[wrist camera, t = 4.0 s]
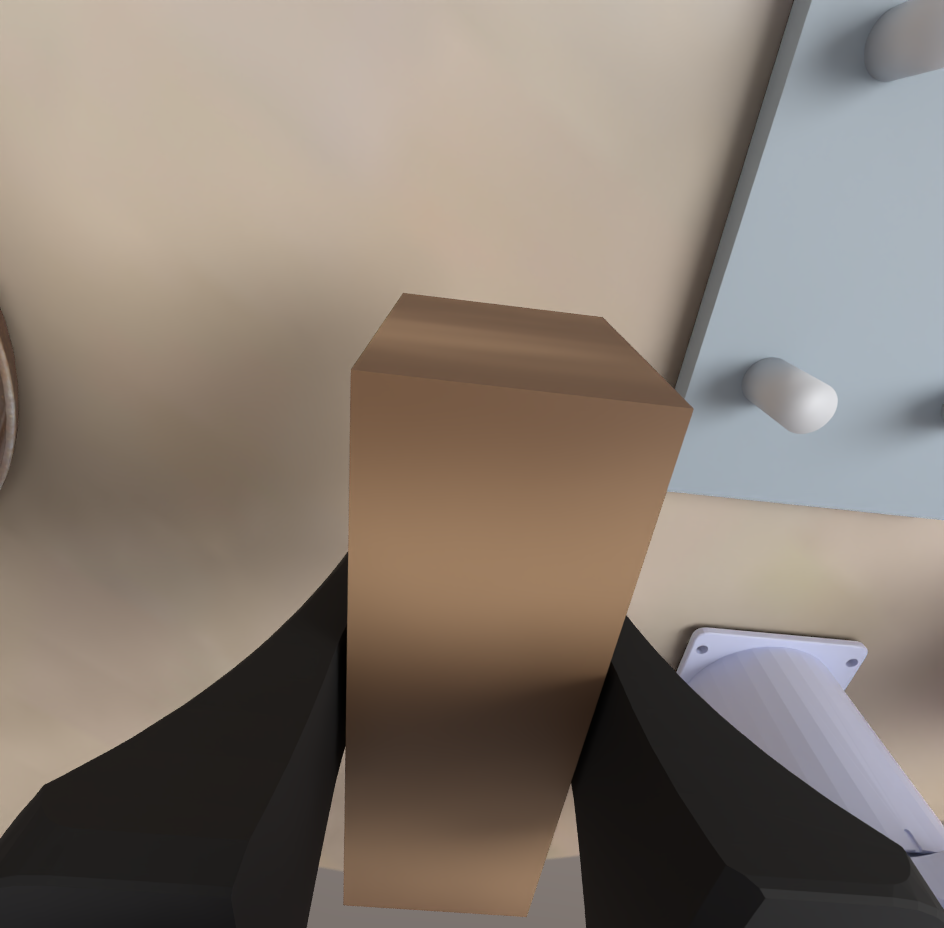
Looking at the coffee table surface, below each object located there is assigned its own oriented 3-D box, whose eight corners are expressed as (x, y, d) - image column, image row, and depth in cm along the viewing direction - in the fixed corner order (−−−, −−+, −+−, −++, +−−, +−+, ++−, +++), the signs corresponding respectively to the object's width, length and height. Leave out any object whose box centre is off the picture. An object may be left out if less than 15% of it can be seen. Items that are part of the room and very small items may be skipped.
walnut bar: (512, 716, 16) (526, 917, 12) (380, 705, 16) (343, 904, 12) (602, 317, 11) (693, 408, 6) (402, 293, 10) (351, 370, 6)
